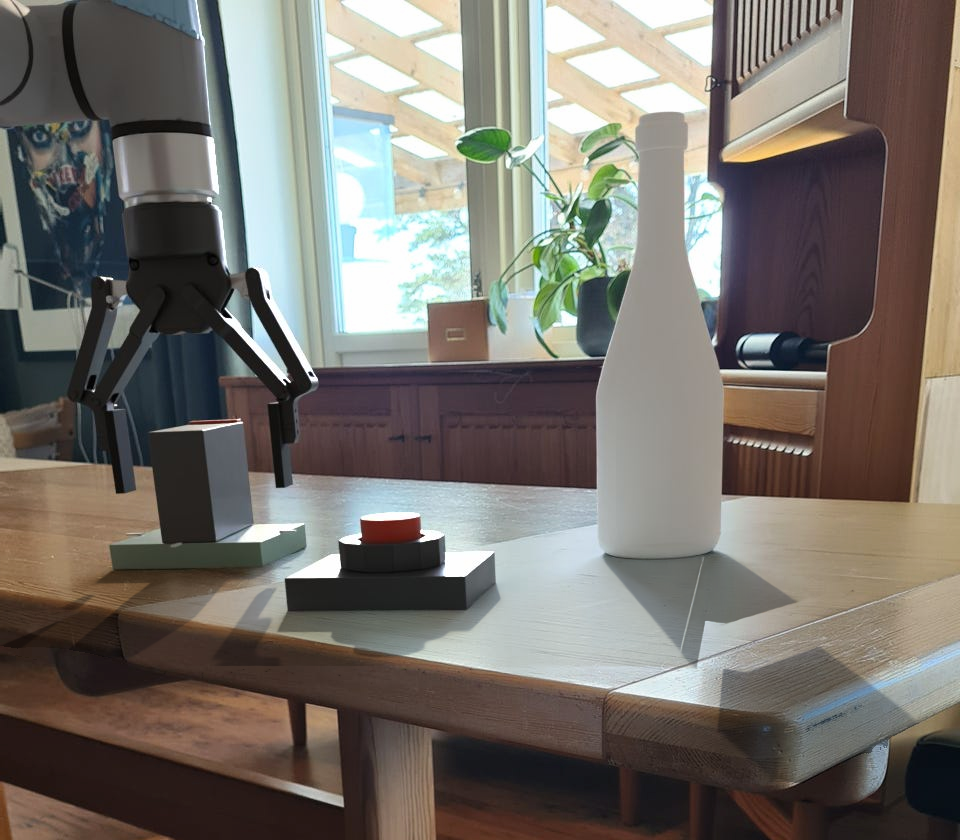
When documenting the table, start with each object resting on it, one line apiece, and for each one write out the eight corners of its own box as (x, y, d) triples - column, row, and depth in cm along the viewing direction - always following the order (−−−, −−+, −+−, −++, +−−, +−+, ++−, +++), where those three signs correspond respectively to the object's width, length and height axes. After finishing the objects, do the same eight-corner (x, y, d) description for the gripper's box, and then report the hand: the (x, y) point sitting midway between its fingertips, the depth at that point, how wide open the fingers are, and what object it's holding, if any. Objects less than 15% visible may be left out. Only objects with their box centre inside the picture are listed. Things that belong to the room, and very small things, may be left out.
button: (354, 548, 84) (352, 520, 84) (371, 539, 88) (369, 513, 87) (413, 547, 83) (411, 519, 83) (427, 538, 87) (426, 511, 86)
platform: (88, 574, 103) (83, 546, 102) (167, 546, 117) (163, 521, 116) (266, 571, 100) (263, 543, 99) (326, 543, 114) (324, 518, 113)
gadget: (216, 541, 102) (202, 426, 99) (161, 543, 103) (146, 429, 100) (254, 523, 112) (242, 418, 109) (204, 525, 113) (192, 421, 110)
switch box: (287, 612, 84) (281, 550, 82) (333, 585, 93) (328, 528, 91) (466, 611, 81) (463, 546, 80) (496, 583, 90) (493, 525, 89)
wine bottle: (647, 539, 107) (648, 130, 96) (744, 547, 100) (757, 110, 89) (572, 555, 100) (565, 119, 89) (671, 564, 94) (676, 97, 83)
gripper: (339, 199, 100) (361, 479, 108) (37, 218, 104) (79, 489, 111) (317, 188, 94) (342, 488, 101) (-6, 209, 97) (42, 499, 104)
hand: (204, 489), depth 106 cm, fingers open, 13 cm apart
